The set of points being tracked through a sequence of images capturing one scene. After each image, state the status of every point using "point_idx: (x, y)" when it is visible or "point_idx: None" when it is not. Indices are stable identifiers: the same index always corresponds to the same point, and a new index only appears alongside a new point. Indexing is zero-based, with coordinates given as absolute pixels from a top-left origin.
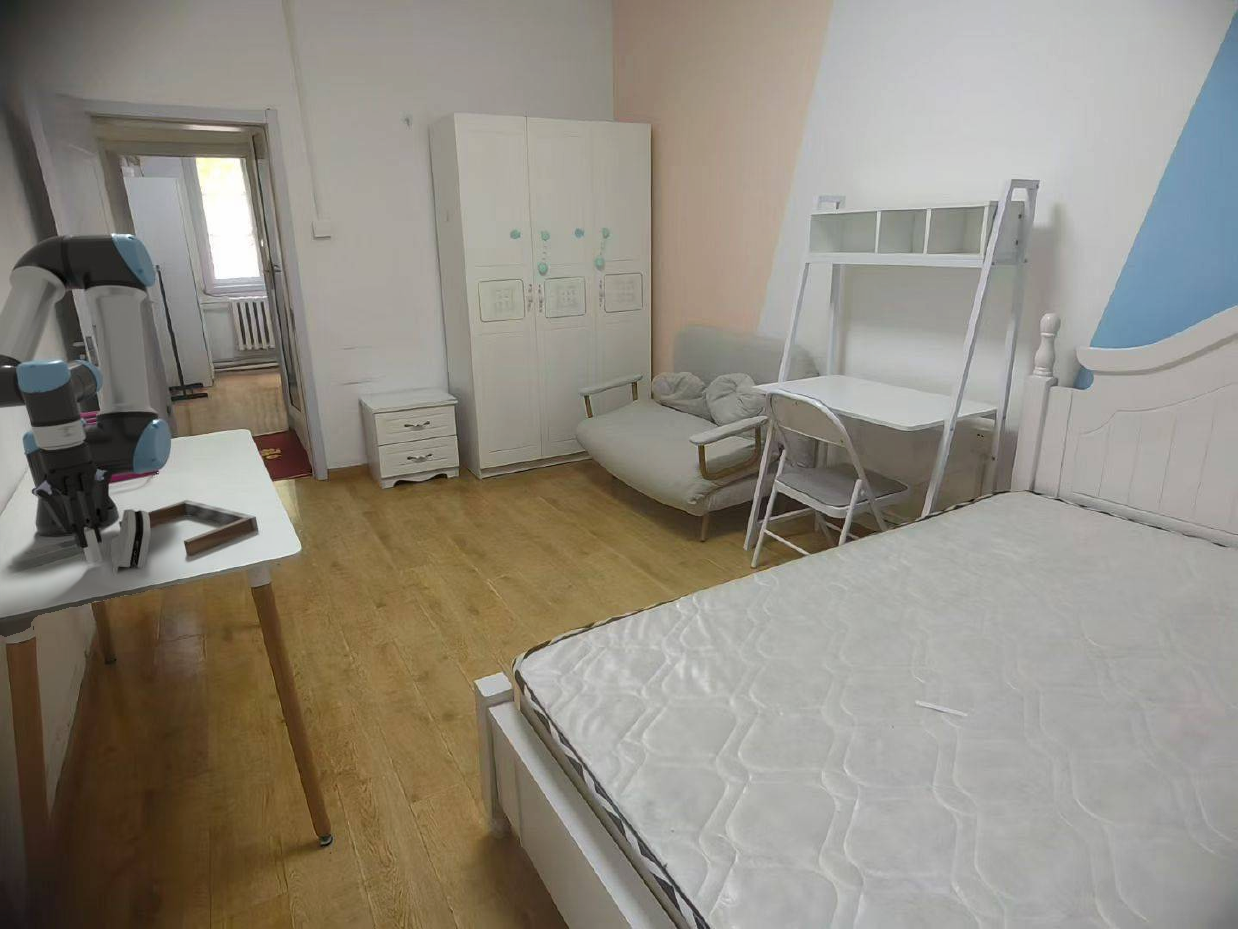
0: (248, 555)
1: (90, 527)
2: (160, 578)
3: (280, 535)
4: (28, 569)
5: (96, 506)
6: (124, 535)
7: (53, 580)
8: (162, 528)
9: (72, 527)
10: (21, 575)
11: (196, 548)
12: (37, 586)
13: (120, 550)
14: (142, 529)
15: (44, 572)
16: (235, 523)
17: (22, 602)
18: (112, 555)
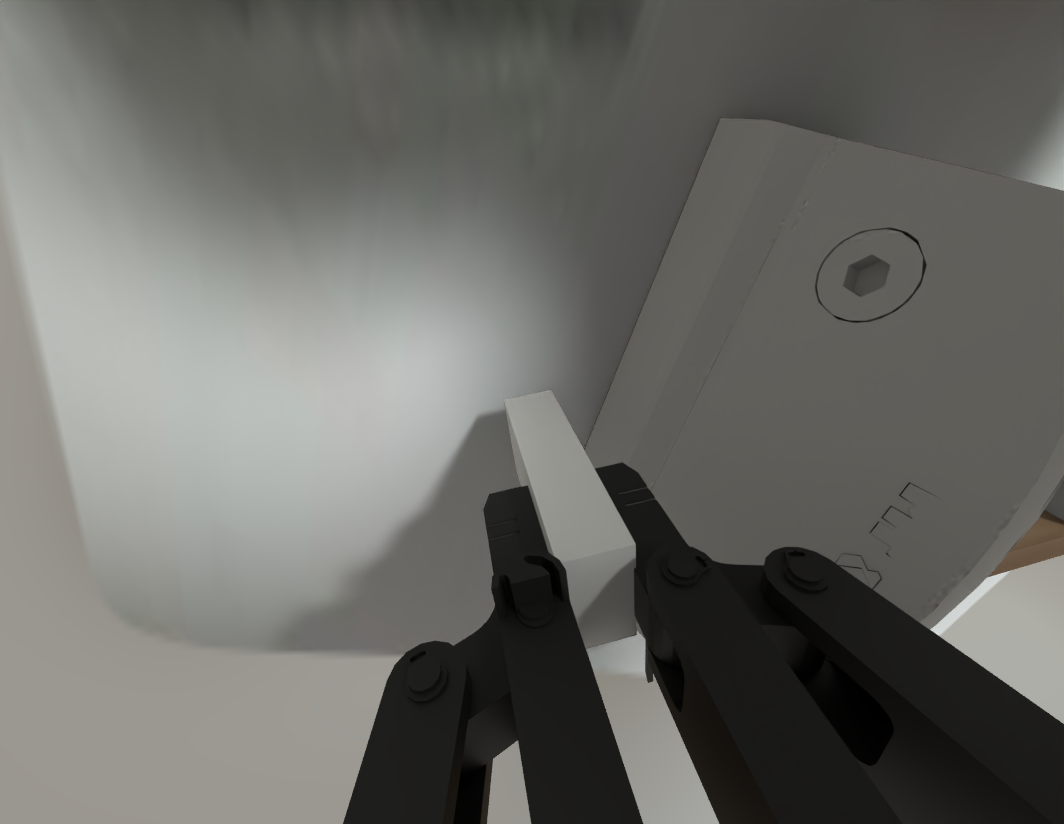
0: None
1: (638, 614)
2: (616, 671)
3: (973, 593)
4: (127, 5)
5: (924, 745)
6: (740, 541)
7: (306, 431)
8: (1059, 54)
9: (497, 741)
10: (81, 129)
11: None
12: (219, 452)
13: (663, 459)
14: None
15: (262, 236)
16: (1019, 562)
17: (154, 592)
18: (634, 367)
